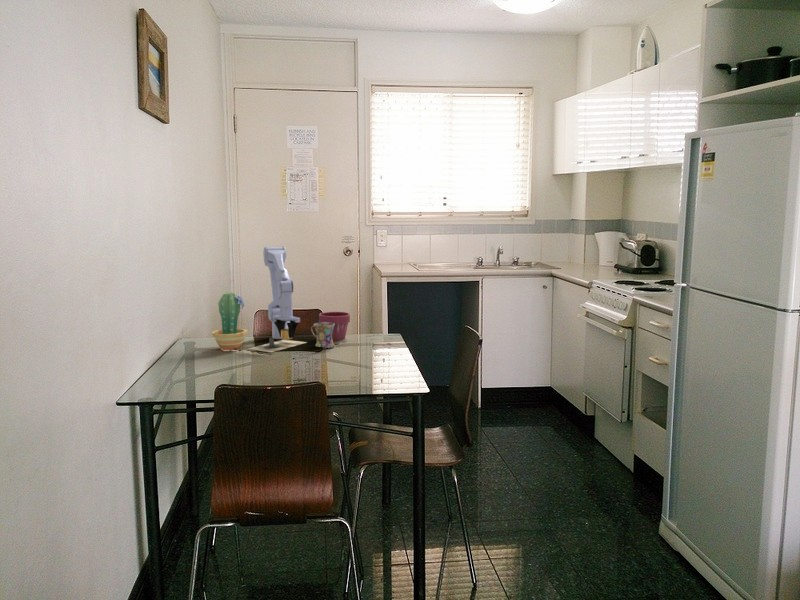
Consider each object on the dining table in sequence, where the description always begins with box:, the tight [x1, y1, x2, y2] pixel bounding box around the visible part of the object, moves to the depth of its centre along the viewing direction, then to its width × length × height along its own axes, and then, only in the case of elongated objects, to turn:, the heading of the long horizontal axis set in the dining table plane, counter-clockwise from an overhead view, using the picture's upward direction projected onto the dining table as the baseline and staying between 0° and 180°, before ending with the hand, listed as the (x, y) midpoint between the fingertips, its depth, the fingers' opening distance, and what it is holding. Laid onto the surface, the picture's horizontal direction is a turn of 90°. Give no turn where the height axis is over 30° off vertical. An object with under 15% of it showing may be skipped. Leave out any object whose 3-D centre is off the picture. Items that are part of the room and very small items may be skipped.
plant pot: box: [318, 311, 351, 341], centre depth 315 cm, size 14×14×13 cm
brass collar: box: [280, 329, 293, 340], centre depth 305 cm, size 5×5×4 cm
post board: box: [246, 337, 308, 355], centre depth 300 cm, size 24×14×5 cm, turn 148°
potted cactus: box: [211, 292, 248, 351], centre depth 297 cm, size 15×15×25 cm
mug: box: [310, 322, 335, 350], centre depth 301 cm, size 12×9×11 cm
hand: (286, 337), depth 305 cm, fingers closed on brass collar, 5 cm apart
